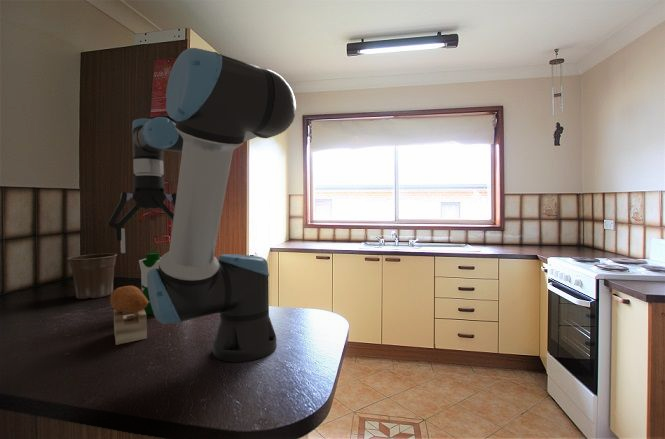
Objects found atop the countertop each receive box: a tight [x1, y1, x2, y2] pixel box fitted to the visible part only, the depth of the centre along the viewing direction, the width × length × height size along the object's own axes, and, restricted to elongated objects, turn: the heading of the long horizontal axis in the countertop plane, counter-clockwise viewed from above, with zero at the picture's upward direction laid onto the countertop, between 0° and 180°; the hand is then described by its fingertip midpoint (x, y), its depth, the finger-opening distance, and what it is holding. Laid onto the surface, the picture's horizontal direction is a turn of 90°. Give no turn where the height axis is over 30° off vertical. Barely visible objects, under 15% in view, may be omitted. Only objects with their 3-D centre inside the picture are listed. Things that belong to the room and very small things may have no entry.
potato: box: [109, 285, 148, 314], centre depth 90 cm, size 7×13×7 cm, turn 50°
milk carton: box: [138, 252, 162, 315], centre depth 112 cm, size 9×9×20 cm
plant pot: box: [67, 253, 118, 300], centre depth 134 cm, size 16×16×16 cm
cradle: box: [113, 309, 148, 346], centre depth 90 cm, size 10×7×6 cm
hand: (151, 250), depth 94 cm, fingers open, 13 cm apart
